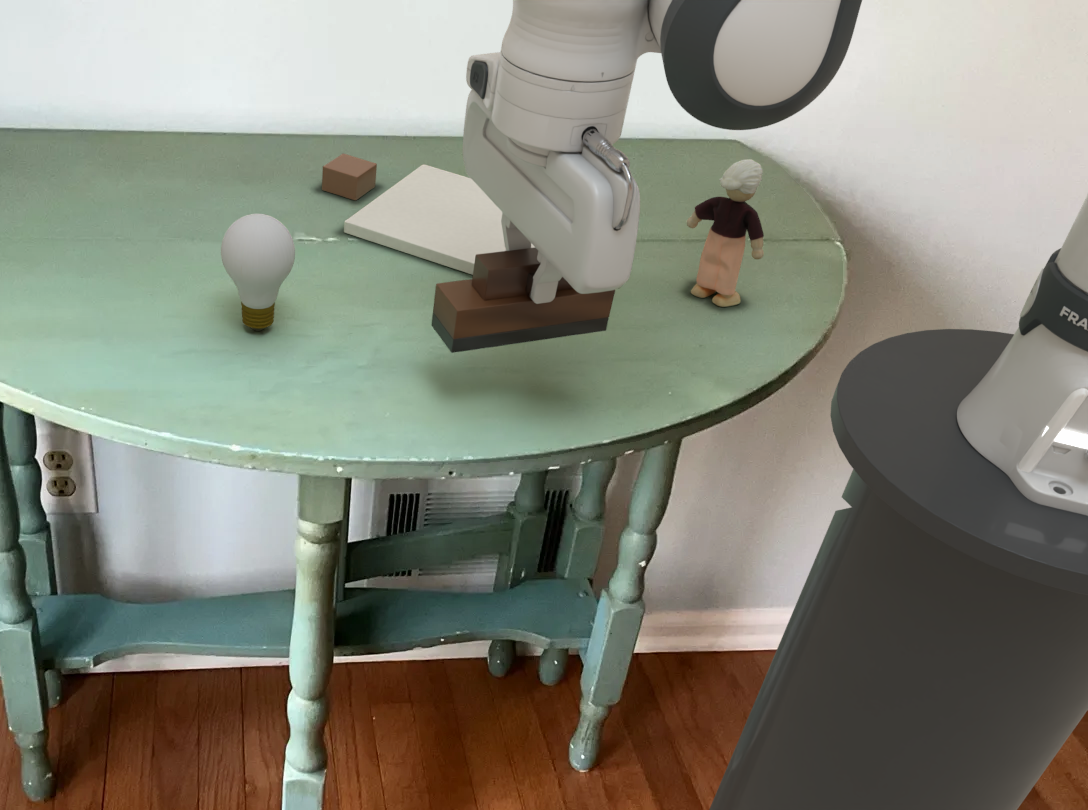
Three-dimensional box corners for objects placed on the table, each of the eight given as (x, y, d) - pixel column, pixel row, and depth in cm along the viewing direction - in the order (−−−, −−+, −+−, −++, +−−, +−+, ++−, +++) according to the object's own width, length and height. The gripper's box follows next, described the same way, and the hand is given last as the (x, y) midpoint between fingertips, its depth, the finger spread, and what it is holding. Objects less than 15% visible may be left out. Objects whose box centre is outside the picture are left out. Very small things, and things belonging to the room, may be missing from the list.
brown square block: (375, 186, 121) (377, 163, 119) (355, 201, 118) (357, 177, 116) (341, 176, 122) (343, 153, 120) (321, 190, 119) (322, 166, 118)
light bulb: (304, 320, 101) (308, 210, 94) (274, 354, 96) (276, 241, 90) (242, 304, 102) (241, 194, 95) (209, 336, 98) (206, 224, 91)
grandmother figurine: (756, 299, 108) (798, 166, 100) (742, 316, 106) (784, 181, 97) (678, 272, 111) (712, 140, 103) (662, 288, 109) (696, 154, 100)
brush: (582, 304, 94) (597, 234, 90) (606, 330, 91) (622, 259, 87) (430, 325, 90) (439, 252, 86) (451, 353, 88) (461, 279, 83)
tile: (600, 228, 117) (603, 217, 116) (535, 296, 106) (537, 284, 105) (421, 174, 124) (423, 163, 123) (343, 232, 113) (344, 221, 112)
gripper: (682, 163, 73) (633, 354, 82) (536, 45, 87) (508, 219, 96) (592, 172, 71) (552, 366, 80) (457, 50, 85) (437, 227, 94)
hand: (527, 285), depth 88 cm, fingers closed on brush, 2 cm apart
